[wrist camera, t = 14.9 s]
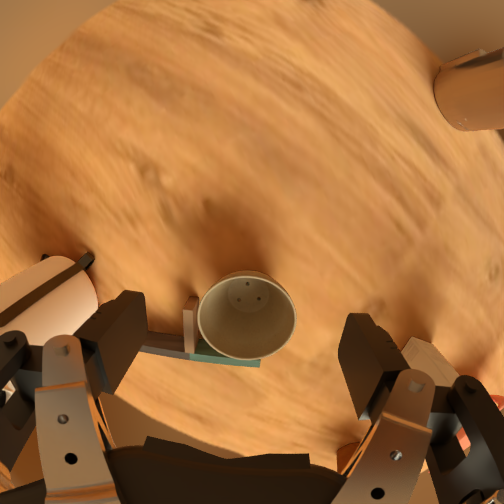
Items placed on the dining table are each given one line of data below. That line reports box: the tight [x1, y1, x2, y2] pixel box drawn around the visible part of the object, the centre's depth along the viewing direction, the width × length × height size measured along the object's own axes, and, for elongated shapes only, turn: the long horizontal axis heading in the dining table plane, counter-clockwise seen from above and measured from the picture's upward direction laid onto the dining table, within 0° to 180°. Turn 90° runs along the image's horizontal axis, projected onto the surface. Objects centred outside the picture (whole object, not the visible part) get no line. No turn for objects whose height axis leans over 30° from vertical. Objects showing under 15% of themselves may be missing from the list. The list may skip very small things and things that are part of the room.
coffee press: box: [0, 252, 98, 409], centre depth 20 cm, size 17×16×30 cm
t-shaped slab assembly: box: [139, 297, 260, 368], centre depth 33 cm, size 8×18×4 cm, turn 86°
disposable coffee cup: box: [337, 443, 360, 474], centre depth 39 cm, size 10×10×12 cm
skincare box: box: [401, 336, 460, 387], centre depth 29 cm, size 8×6×15 cm
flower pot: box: [197, 270, 297, 360], centre depth 30 cm, size 10×10×7 cm
